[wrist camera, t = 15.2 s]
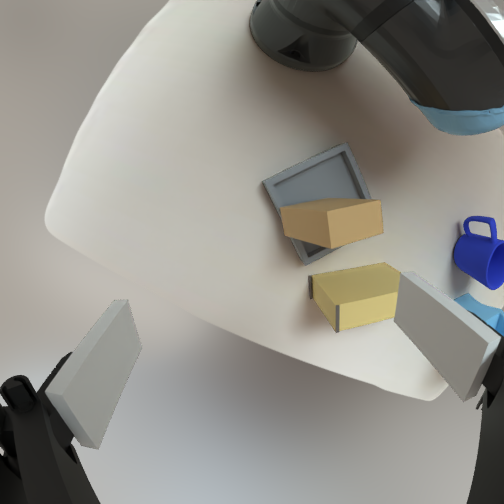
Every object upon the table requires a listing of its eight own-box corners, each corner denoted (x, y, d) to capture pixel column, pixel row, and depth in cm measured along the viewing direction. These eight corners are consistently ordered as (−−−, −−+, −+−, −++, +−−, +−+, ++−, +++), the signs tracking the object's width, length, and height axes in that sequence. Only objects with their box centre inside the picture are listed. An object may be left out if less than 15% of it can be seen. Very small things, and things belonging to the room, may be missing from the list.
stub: (284, 235, 35) (331, 248, 26) (279, 207, 34) (326, 211, 25) (330, 223, 37) (383, 232, 28) (327, 197, 36) (380, 199, 27)
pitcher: (470, 291, 44) (538, 334, 25) (466, 323, 46) (525, 370, 27) (445, 303, 44) (514, 355, 25) (441, 337, 46) (501, 391, 27)
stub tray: (261, 181, 36) (264, 181, 34) (340, 144, 35) (347, 142, 33) (300, 260, 39) (305, 265, 37) (372, 221, 39) (380, 224, 36)
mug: (469, 201, 39) (509, 210, 29) (477, 259, 42) (512, 275, 33) (441, 219, 39) (482, 231, 30) (451, 279, 43) (486, 299, 33)
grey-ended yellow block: (309, 298, 41) (332, 333, 31) (308, 275, 40) (332, 306, 30) (383, 283, 41) (419, 310, 31) (384, 262, 40) (422, 286, 31)
